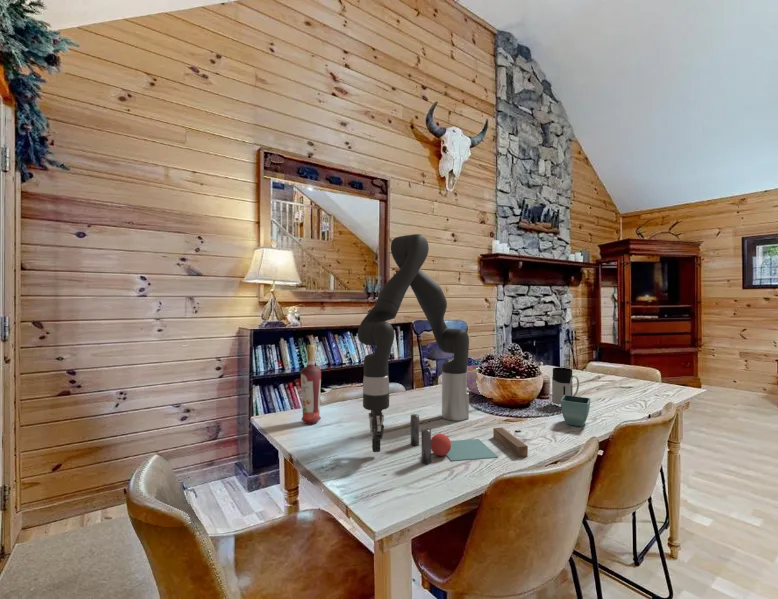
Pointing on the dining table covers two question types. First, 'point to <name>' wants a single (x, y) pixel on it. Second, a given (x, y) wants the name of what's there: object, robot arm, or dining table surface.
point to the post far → (414, 430)
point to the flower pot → (575, 409)
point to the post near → (426, 445)
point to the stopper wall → (510, 442)
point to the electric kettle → (562, 384)
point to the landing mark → (469, 450)
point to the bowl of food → (472, 379)
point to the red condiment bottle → (311, 389)
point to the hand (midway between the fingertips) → (376, 451)
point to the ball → (440, 444)
